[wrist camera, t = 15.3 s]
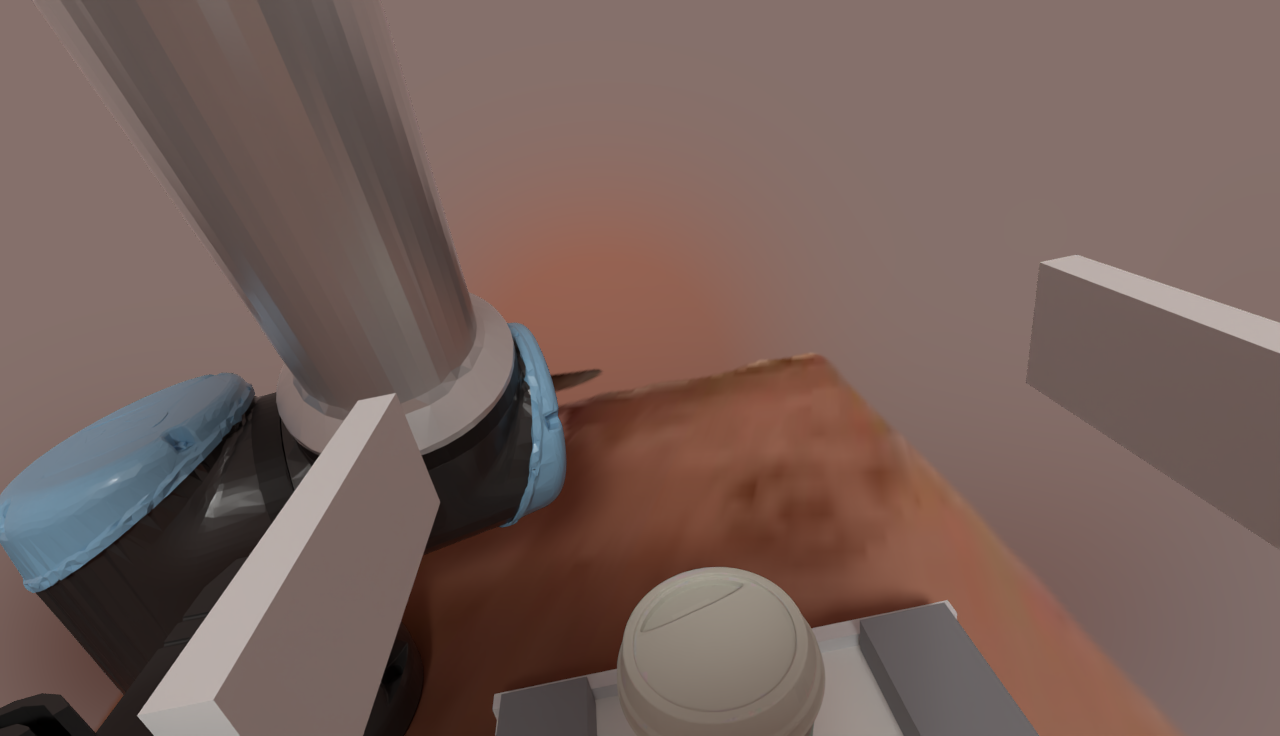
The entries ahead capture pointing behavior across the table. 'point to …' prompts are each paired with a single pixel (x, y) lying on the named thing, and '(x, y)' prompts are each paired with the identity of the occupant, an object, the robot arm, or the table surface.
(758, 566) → the table surface
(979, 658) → the rail plate
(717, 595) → the coffee cup
